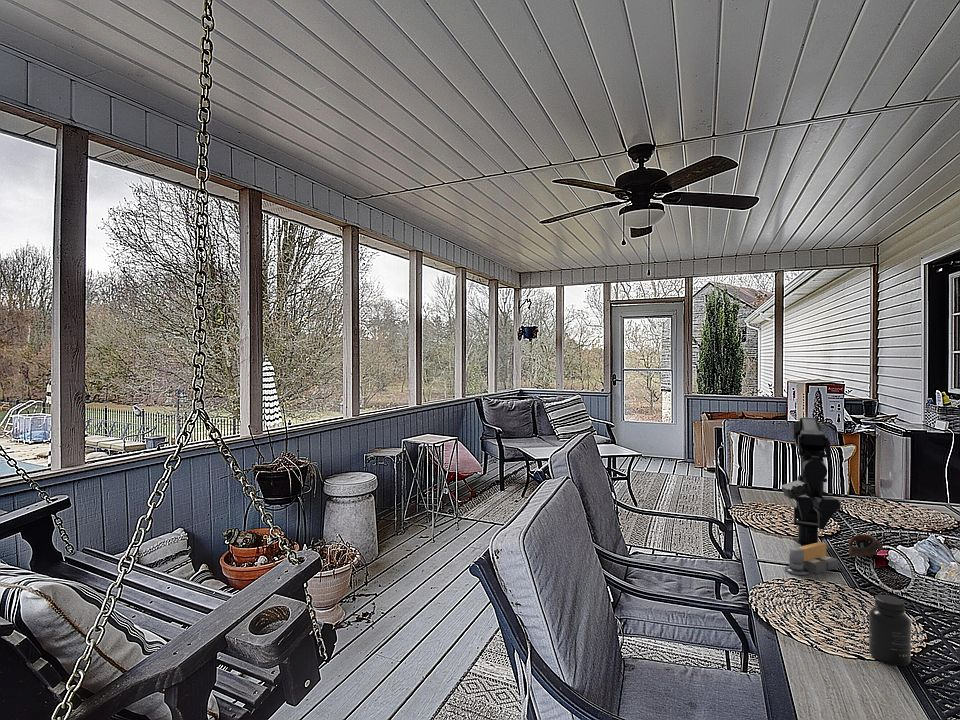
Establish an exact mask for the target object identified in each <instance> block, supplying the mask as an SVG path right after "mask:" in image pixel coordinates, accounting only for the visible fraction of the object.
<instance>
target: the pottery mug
mask: <svg viewBox="0 0 960 720" xmlns="http://www.w3.org/2000/svg"><path fill="white" fill-rule="evenodd" d="M853 543H854V544H855V546H854V545H853ZM877 549H878V550H883V551H884V546H883V544H882V543H881V542H880V541H879V540H877V539H876V538H875V536H872V535H869V534H864V533H863V534H861V533H860V534H856V535H854V536H852V537H851V538H850V539H849V540H848V555H849V557H850V558H851V559H854V557H863V558H864V557H869V556H873V555H877V552H876V550H877Z"/></svg>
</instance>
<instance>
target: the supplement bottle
mask: <svg viewBox="0 0 960 720" xmlns="http://www.w3.org/2000/svg"><path fill="white" fill-rule="evenodd" d="M874 600H875V601H874V607H873V608H871V609H870V611H869V615H868V651H869V653H870V655H871V656H872V657H873V658H874V659H876V660H878V661H879V662H882V663H885V664H887V665H891V666H895V667H905V666H908V665H909V664H910V663H911V655H912V654H911V653H912V650H911V649H912V646H911V643H912V641H911V638H912V635H911V633H912V631H911V630H912V627H911V626H912V623H911V620H910V618H909V616H908V615H907V614H905V613H906V608H905V601H904V600H903V599H900V598H899V597H896V596H893V595H888V594H876V595H875V597H874Z"/></svg>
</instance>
